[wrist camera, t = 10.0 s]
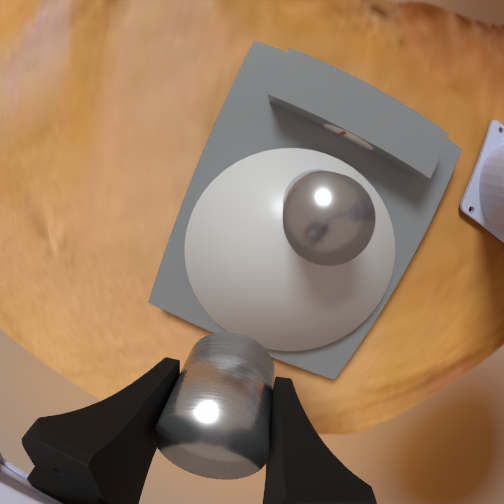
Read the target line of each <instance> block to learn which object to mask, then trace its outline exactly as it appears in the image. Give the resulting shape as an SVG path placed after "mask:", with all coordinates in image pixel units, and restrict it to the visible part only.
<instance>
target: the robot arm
mask: <svg viewBox="0 0 504 504" xmlns="http://www.w3.org/2000/svg"><path fill="white" fill-rule="evenodd" d="M499 128H500V132H499ZM470 206H471V211H470V212H469V207H470ZM460 210H461V211H462V212H463V213H465V214H466V215H468V216H469V217H470V218H472V219H473V220H474V221H476V222H477V223H478V224H480V225H481V226H482V227H484V228H485V229H486V230H488V231H489V232H490V233H492V234H493V235H494V236H495V237H497V238H498V239H499V240H500V241H502V242H503V243H504V126H503V125H502V124H500V123H499V122H498V121H497V120H493V121H491V122H490V125H489V128H488V131H487V135H486V138H485V141H484V143H483V146H482V149H481V152H480V155H479V158H478V160H477V163H476V166H475V168H474V171H473V173H472V176H471V178H470V181H469V183H468V186H467V188H466V190H465V193H464V195H463V198H462V200H461V202H460ZM179 375H180V360H176V359H171V358H167V357H166V358H164V359H163V360H162V361H161V362H159V363H158V364H157V365H156V366H154V367H153V368H152V369H151V370H149V371H148V372H147V373H146V374H144V375H143V376H141V377H140V378H139V379H137V380H136V381H135V382H133V383H132V384H130V385H129V386H127V387H126V388H124V389H122V390H121V391H119V392H118V393H116V394H114V395H112V396H110V397H108V398H106V399H104V400H102V401H100V402H98V403H95V404H93V405H90V406H87V407H85V408H82V409H79V410H76V411H72V412H68V413H64V414H60V415H54V416H47V417H40V418H38V419H37V420H36V421H35V423H34V424H33V425H32V426H31V427H30V429H29V430H28V431H27V432H26V434H25V435H24V436H23V438H22V444H23V447H24V449H25V451H26V452H27V454H28V456H29V457H30V459H31V460H32V462H33V464H34V465H35V467H34V469H33V470H32V472H31V473H30V475H28V474H27V473H25V472H24V471H22V470H20V469H19V468H17V467H16V466H14V465H13V464H11V463H10V462H8V461H7V460H5V459H4V458H2V455H1V453H0V504H139V500H140V496H141V493H142V489H143V486H144V483H145V479H146V476H147V473H148V470H149V467H150V464H151V461H152V458H153V456H154V453H155V451H156V449H157V445H156V443H155V440H154V430H155V427H156V425H157V423H158V421H159V418H160V416H161V414H162V412H163V410H164V407H165V405H166V403H167V401H168V399H169V397H170V394H171V392H172V390H173V388H174V386H175V384H176V382H177V379H178V377H179ZM263 504H377V503H376V499H375V496H374V493H373V490H372V487H371V486H370V485H368V484H367V483H365V482H364V481H363V480H361V479H359V478H358V477H357V476H356V475H354V474H353V473H352V472H351V471H350V470H348V469H347V468H346V467H345V466H344V465H343V464H342V463H341V462H340V461H339V460H338V459H337V458H336V457H335V456H334V454H332V452H331V451H330V450H329V449H328V448H327V446H326V445H325V444H324V443H323V441H322V440H321V438H320V437H319V435H318V434H317V432H316V431H315V429H314V428H313V426H312V424H311V423H310V421H309V419H308V417H307V415H306V413H305V411H304V409H303V407H302V405H301V403H300V401H299V399H298V396H297V394H296V391H295V388H294V385H293V382H292V380H291V379H290V378H282V377H276V378H275V382H274V387H273V396H272V410H271V424H270V437H269V449H268V459H267V462H266V481H265V490H264V498H263Z"/></svg>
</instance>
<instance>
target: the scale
mask: <svg viewBox="0 0 504 504" xmlns="http://www.w3.org/2000/svg"><path fill="white" fill-rule="evenodd" d="M448 135H449V134H448V133H447V132H446V131H444V130H443V129H441V128H440V127H438V126H437V125H436V124H434V123H433V122H431V121H430V120H428V119H427V118H425V117H424V116H422V115H421V114H419V113H417V112H416V111H414V110H413V109H411V108H409V107H408V106H406V105H405V104H403V103H401V102H400V101H398V100H396V99H395V98H393V97H391V96H389V95H388V94H386V93H384V92H382V91H381V90H379V89H377V88H375V87H373V86H371V85H370V84H368V83H366V82H364V81H362V80H360V79H358V78H356V77H354V76H352V75H350V74H348V73H346V72H344V71H342V70H340V69H338V68H336V67H333V66H331V65H329V64H327V63H325V62H322V61H320V60H318V59H316V58H313V57H311V56H309V55H306V54H304V53H301V52H299V51H296V50H294V49H291V48H290V49H289V51H288V53H287V52H285V51H282V50H280V49H277V48H274V47H271V46H269V45H266V44H263V43H260V42H257V41H254V42H253V44H252V46H251V48H250V50H249V52H248V54H247V56H246V58H245V60H244V62H243V64H242V66H241V68H240V70H239V72H238V74H237V76H236V78H235V80H234V83H233V85H232V87H231V89H230V91H229V93H228V95H227V98H226V100H225V102H224V104H223V106H222V108H221V111H220V113H219V115H218V117H217V120H216V122H215V124H214V126H213V129H212V131H211V133H210V136H209V138H208V140H207V143H206V145H205V147H204V150H203V152H202V155H201V157H200V160H199V162H198V164H197V167H196V169H195V172H194V174H193V177H192V179H191V182H190V184H189V187H188V190H187V192H186V195H185V197H184V200H183V203H182V205H181V208H180V211H179V213H178V216H177V219H176V222H175V224H174V227H173V230H172V233H171V235H170V238H169V241H168V244H167V247H166V250H165V253H164V256H163V259H162V261H161V264H160V267H159V271H158V274H157V277H156V280H155V283H154V286H153V289H152V292H151V295H150V299H149V302H148V303H150V304H152V305H154V306H156V307H158V308H160V309H163V310H165V311H167V312H169V313H171V314H173V315H175V316H177V317H179V318H182V319H184V320H186V321H188V322H190V323H192V324H195V325H197V326H199V327H201V328H203V329H206V330H208V331H210V332H212V333H219V332H233V333H239V334H242V335H245V336H248V337H250V338H252V339H254V340H256V341H257V342H259V343H260V344H261V345H262V346H263V347H264V348H265V349H266V350H267V351H268V352H269V354H270V356H271V357H273V358H275V359H278V360H280V361H283V362H286V363H288V364H291V365H294V366H296V367H299V368H302V369H305V370H307V371H310V372H313V373H316V374H319V375H321V376H324V377H327V378H330V379H333V380H335V379H336V377H337V376H338V374H339V373H340V372H341V370H342V369H343V368H344V366H345V365H346V363H347V362H348V361H349V359H350V358H351V356H352V355H353V353H354V352H355V351H356V349H357V348H358V346H359V345H360V343H361V342H362V340H363V339H364V337H365V336H366V334H367V333H368V331H369V330H370V328H371V327H372V325H373V323H374V322H375V320H376V319H377V317H378V316H379V314H380V312H381V311H382V309H383V308H384V306H385V304H386V303H387V301H388V299H389V298H390V296H391V294H392V293H393V291H394V289H395V288H396V286H397V284H398V282H399V281H400V279H401V277H402V275H403V274H404V272H405V270H406V268H407V266H408V265H409V263H410V261H411V259H412V257H413V255H414V254H415V252H416V250H417V248H418V246H419V244H420V242H421V240H422V238H423V236H424V234H425V232H426V230H427V228H428V226H429V224H430V222H431V220H432V218H433V216H434V214H435V212H436V209H437V207H438V205H439V203H440V201H441V198H442V196H443V194H444V192H445V189H446V187H447V185H448V182H449V180H450V178H451V175H452V173H453V171H454V168H455V166H456V163H457V161H458V158H459V155H460V153H461V150H462V149H461V148H460V147H458V146H457V145H455V144H454V143H453V142H451V141H450V140H449V139H447V137H448ZM313 169H321V170H326V171H331V172H335V173H339V174H343V175H346V176H348V177H351V178H352V179H354V180H356V181H357V182H358V183H359V184H361V185H362V186H363V187H364V188H365V190H366V191H367V192H368V194H369V196H370V198H371V199H372V202H373V205H374V209H375V216H376V221H375V229H374V232H373V235H372V238H371V240H370V242H369V243H368V245H367V246H366V248H365V249H364V250H363V251H362V252H361V253H360V254H359V255H358V256H357V257H355V258H354V259H352V260H350V261H348V262H346V263H343V264H340V265H335V266H322V265H317V264H314V263H311V262H309V261H307V260H305V259H304V258H302V257H301V256H299V255H298V254H297V253H296V252H295V251H294V250H293V248H292V247H291V246H290V244H289V242H288V240H287V238H286V236H285V233H284V228H283V197H284V193H285V190H286V188H287V186H288V185H289V183H290V182H291V181H292V180H293V179H294V178H295V177H296V176H297V175H299V174H301V173H303V172H305V171H308V170H313Z"/></svg>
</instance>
